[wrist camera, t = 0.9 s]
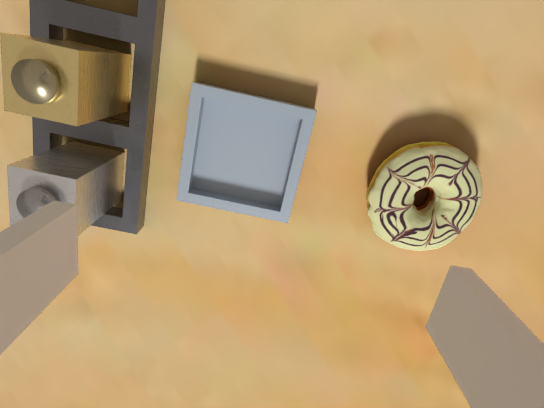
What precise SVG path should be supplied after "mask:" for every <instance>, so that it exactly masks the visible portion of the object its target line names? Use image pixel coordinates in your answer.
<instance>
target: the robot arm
mask: <svg viewBox="0 0 544 408" xmlns="http://www.w3.org/2000/svg"><path fill="white" fill-rule="evenodd" d="M77 275H78V234H77V204H73V203H67V202H61V201H55V200H54V201H52V202H50V203H49V204H47V205H45V206H44V207H42V208H40V209H39V210H37V211H35V212H33V213H32V214H30V215H28V216H27V217H25V218H23V219H22V220H20V221H18V222H17V223H15V224H13V225H12V226H10V227H8V228H7V229H5V230H3V231H2V232H0V355H1V354H2V353H3V352H4V350H5V349H6V348H7V347H8V346H9V345H10V344H11V343H12V342H13V341H14V340H15V339H16V338H17V337H18V336H19V335H20V334H21V333H22V332H23V331H24V330H25V329H26V328H27V327H28V326H29V324H30V323H31V322H32V321H33V320H34V319H35V318H36V317H37V316H38V315H39V314H40V313H41V312H42V311H43V310H44V309H45V308H46V307H47V306H48V305H49V304H50V303H51V302H52V301H53V300H54V299H55V297H56V296H57V295H58V294H59V293H60V292H61V291H62V290H63V289H64V288H65V287H66V286H67V285H68V284H69V283H70V282H71V281H72V280H73V279H74V278H75V277H76V276H77ZM426 329H427V331H428V333H429V334H430V336H431V338H432V340H433V341H434V343H435V345H436V347H437V348H438V350H439V352H440V354H441V355H442V357H443V359H444V361H445V362H446V364H447V366H448V368H449V369H450V371H451V373H452V375H453V376H454V378H455V380H456V382H457V384H458V385H459V387H460V389H461V391H462V392H463V394H464V396H465V398H466V399H467V401H468V403H469V405H470V406H471V408H544V344H543V343H542V342H541V341H540V340H539V339H538V338H537V337H536V336H535V335H534V334H533V332H532V331H531V330H530V329H529V328H528V327H527V326H526V325H525V324H524V323H523V322H522V321H521V320H520V319H519V318H518V317H517V316H516V315H515V314H514V313H513V312H512V311H511V310H510V309H509V307H508V306H507V305H506V304H505V303H504V302H503V301H502V300H501V299H500V298H499V297H498V296H497V295H496V294H495V293H494V292H493V291H492V290H491V289H490V288H489V287H488V286H487V285H486V284H485V282H484V281H483V280H482V279H481V278H480V277H479V276H478V275H477V274H476V273H475V272H474V271H473V270H472V269H470V268H464V267H458V266H452V265H451V266H450V268H449V271H448V273H447V276H446V278H445V281H444V283H443V285H442V288H441V290H440V293H439V295H438V298H437V300H436V303H435V305H434V308H433V310H432V312H431V315H430V317H429V320H428V322H427V325H426Z"/></svg>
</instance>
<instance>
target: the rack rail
mask: <svg viewBox="0 0 544 408" xmlns="http://www.w3.org/2000/svg"><path fill="white" fill-rule="evenodd" d="M164 8H165V0H138V10H137V17H134V16H129V15H125V14H121V13H117V12H113V11H108V10H104V9H100V8H96V7H91V6H87V5H83V4H79V3H75V2H70V1H66V0H30V36H33V37H41V38H49V39H58V40H63V27H65V28H69V29H73V30H78V31H82V32H86V33H90V34H95V35H99V36H103V37H108V38H112V39H116V40H121V41H125V42H129V43H134V44H135V51H134V65H133V79H132V93H131V107H130V120H129V122H125V121H121V120H116V119H111V118H103V119H100V120H97V121H93V122H90V123H87V124H83V125H80V126H73V125H69V124H64V123H60V122H55V121H50V120H46V119H41V118H36V117H32V121H33V156H34V155H36V154H39V153H42V152H45V151H47V150H50V149H53V148H56V147H58V146H61V145H62V135H64V136H68V137H73V138H78V139H82V140H87V141H92V142H97V143H101V144H106V145H111V146H115V147H120V148H125V149H127V162H126V176H125V189H124V203H123V209H122V208H117V207H112V208H110V209H109V210H108V211H107V212H106V213H104V214H103V215H102V216H101V217H100V218H99V219H97V220H96V221H95V222H94V223H93V224H91V225H93V226H98V227H103V228H108V229H113V230H118V231H123V232H128V233H133V234H137V233H138V232H139V231H140V229H141V228H142V227H143V226H144V216H145V205H146V195H147V185H148V174H149V164H150V153H151V143H152V133H153V122H154V112H155V102H156V91H157V81H158V71H159V60H160V50H161V40H162V29H163V19H164Z"/></svg>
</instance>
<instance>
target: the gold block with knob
mask: <svg viewBox="0 0 544 408" xmlns="http://www.w3.org/2000/svg"><path fill="white" fill-rule="evenodd" d="M0 37H1V56H2V75H3V94H4V111H8V112H13V113H18V114H22V115H27V116H32V117H36V118H41V119H46V120H50V121H55V122H60V123H64V124H69V125H73V126H80V125H83V124H87V123H90V122H93V121H97V120H100V119H103V118H107V117H110V116H113V115H116V114H120V113H123V112H126V111H128V97H129V83H130V69H131V54H127V53H122V52H118V51H114V50H109V49H105V48H101V47H96V46H92V45H88V44H83V43H79V42H74V41H66V40H58V39H49V38H41V37H33V36H24V35H16V34H7V33H0Z"/></svg>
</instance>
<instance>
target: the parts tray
mask: <svg viewBox="0 0 544 408" xmlns="http://www.w3.org/2000/svg"><path fill="white" fill-rule="evenodd" d="M316 112H317V111H316V109H315V108H311V107H306V106H302V105H297V104H293V103H289V102H284V101H280V100H276V99H271V98H267V97H262V96H258V95H254V94H249V93H245V92H240V91H236V90H232V89H227V88H223V87H219V86H214V85H210V84H205V83H201V82H192V85H191V93H190V101H189V108H188V116H187V124H186V132H185V139H184V147H183V155H182V162H181V170H180V178H179V185H178V193H177V200H178V201H182V202H187V203H192V204H197V205H202V206H207V207H211V208H216V209H221V210H226V211H231V212H236V213H241V214H245V215H250V216H255V217H260V218H265V219H270V220H275V221H279V222H284V223H288V221H289V217H290V213H291V209H292V205H293V201H294V198H295V194H296V190H297V186H298V182H299V178H300V174H301V170H302V166H303V162H304V159H305V155H306V151H307V147H308V143H309V139H310V135H311V131H312V127H313V124H314V120H315V116H316Z"/></svg>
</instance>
